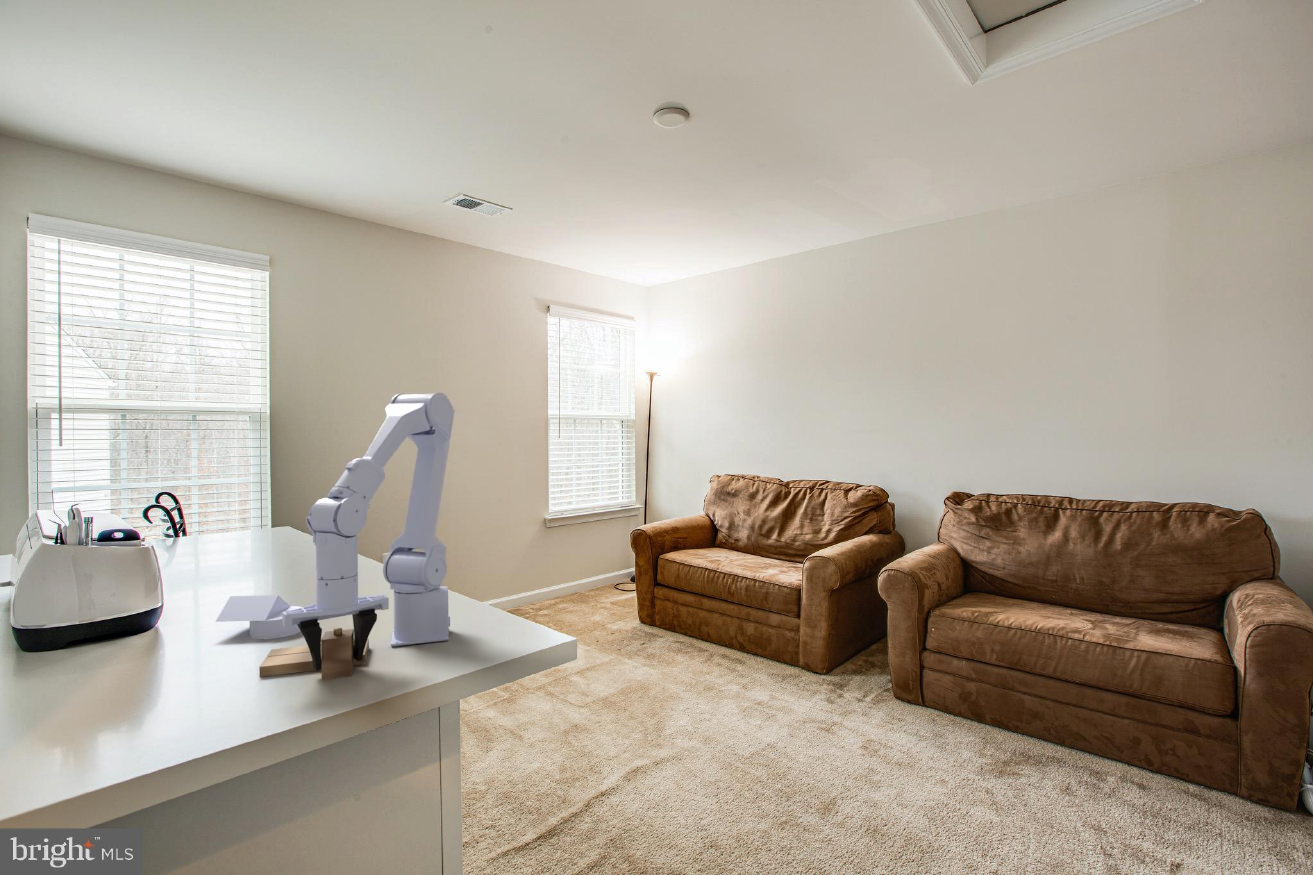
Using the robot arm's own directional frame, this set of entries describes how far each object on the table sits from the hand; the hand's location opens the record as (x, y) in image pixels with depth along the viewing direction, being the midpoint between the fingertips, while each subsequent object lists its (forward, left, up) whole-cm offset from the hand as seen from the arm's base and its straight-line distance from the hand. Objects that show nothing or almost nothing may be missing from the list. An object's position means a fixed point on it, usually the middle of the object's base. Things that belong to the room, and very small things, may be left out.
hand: (338, 663), depth 96 cm
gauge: (0, -3, -1) cm, 3 cm away
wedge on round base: (+15, -27, -2) cm, 31 cm away
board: (+4, -6, -1) cm, 8 cm away
